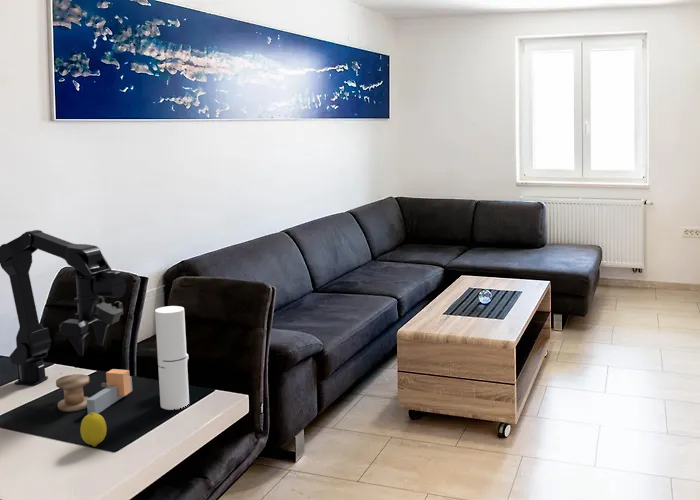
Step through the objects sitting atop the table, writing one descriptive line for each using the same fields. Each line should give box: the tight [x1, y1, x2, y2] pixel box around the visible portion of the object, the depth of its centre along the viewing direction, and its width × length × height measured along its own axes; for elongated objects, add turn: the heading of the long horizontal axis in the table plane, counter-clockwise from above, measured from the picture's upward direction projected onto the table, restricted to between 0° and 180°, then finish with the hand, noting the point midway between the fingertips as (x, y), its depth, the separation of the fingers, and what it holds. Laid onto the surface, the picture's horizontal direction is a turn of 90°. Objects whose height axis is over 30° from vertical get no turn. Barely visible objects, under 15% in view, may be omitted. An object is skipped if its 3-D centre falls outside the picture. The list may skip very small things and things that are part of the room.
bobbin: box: [55, 373, 90, 412], centre depth 191 cm, size 8×8×7 cm
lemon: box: [79, 412, 108, 447], centre depth 166 cm, size 6×6×8 cm
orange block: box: [100, 368, 132, 397], centre depth 197 cm, size 7×3×6 cm, turn 75°
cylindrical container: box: [154, 305, 190, 411], centre depth 189 cm, size 7×7×25 cm
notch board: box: [86, 375, 133, 415], centre depth 193 cm, size 2×18×4 cm, turn 166°
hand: (91, 350), depth 200 cm, fingers open, 9 cm apart
